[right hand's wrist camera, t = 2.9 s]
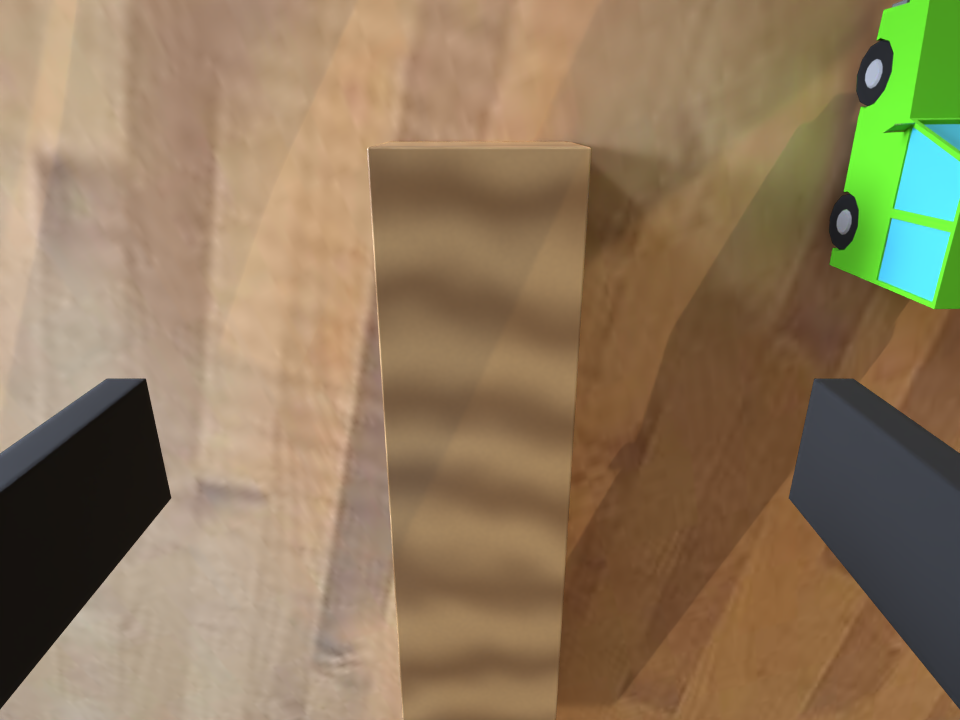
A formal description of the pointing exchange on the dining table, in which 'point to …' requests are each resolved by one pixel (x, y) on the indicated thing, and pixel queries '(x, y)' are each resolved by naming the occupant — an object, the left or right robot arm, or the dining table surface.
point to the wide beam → (479, 412)
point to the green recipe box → (906, 159)
